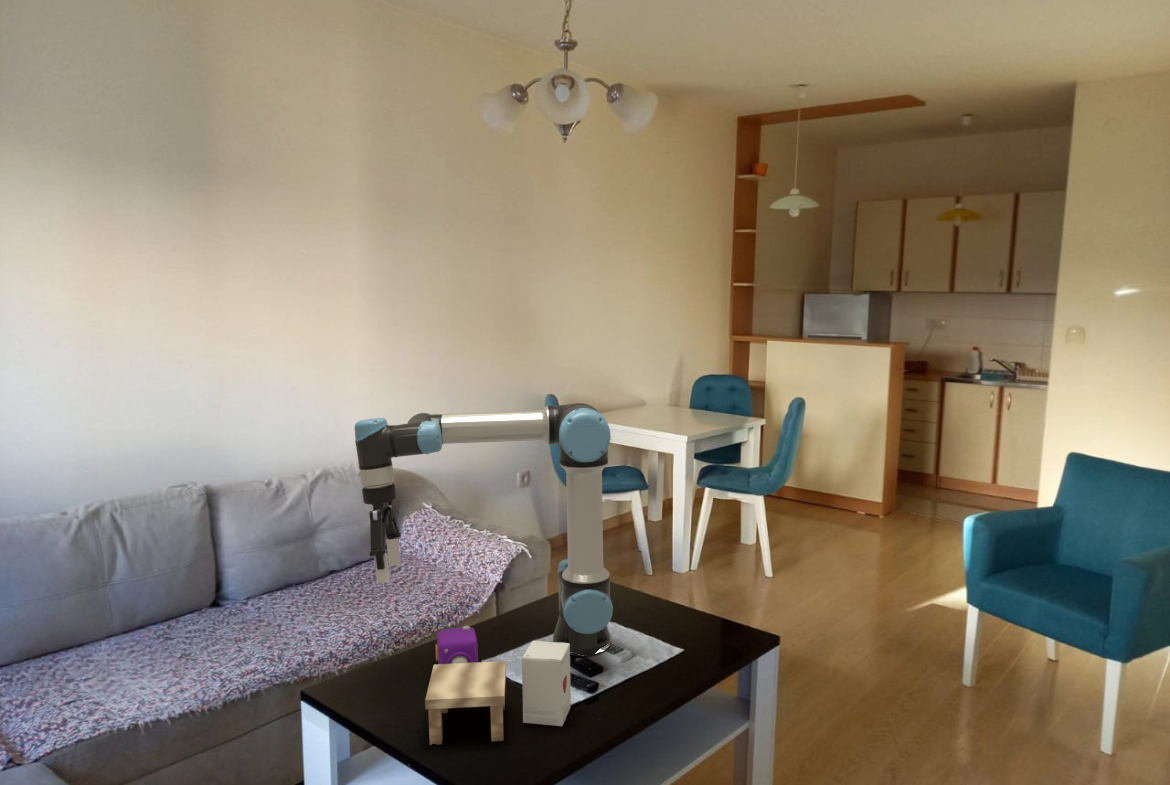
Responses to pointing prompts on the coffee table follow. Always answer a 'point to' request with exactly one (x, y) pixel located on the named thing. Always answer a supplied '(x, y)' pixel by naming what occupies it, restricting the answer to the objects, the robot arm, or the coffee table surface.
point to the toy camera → (457, 646)
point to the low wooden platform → (466, 693)
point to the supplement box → (546, 683)
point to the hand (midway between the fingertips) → (389, 573)
